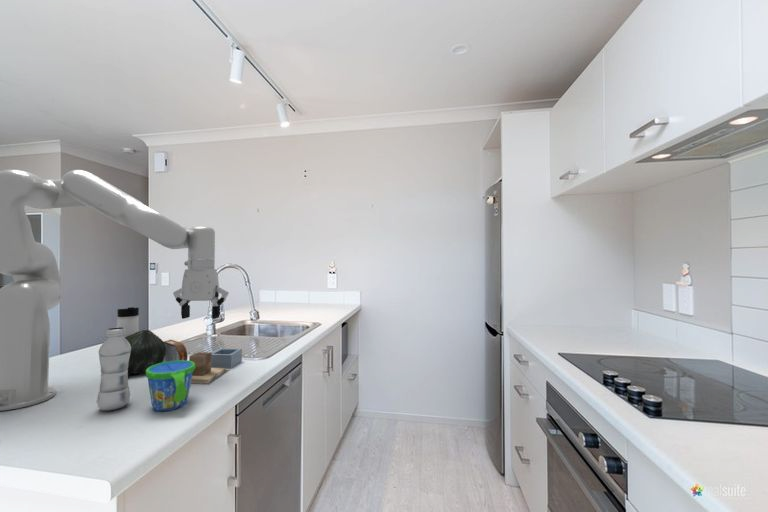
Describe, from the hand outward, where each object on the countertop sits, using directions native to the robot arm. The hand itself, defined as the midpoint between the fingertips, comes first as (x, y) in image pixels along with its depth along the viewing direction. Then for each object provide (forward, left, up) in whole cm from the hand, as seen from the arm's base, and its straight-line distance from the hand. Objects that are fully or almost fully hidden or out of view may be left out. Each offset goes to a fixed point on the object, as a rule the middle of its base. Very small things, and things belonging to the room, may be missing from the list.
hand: (200, 318), depth 104 cm
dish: (+11, -3, -19) cm, 22 cm away
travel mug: (+14, +35, -19) cm, 42 cm away
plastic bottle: (-23, +8, -19) cm, 31 cm away
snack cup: (-21, -5, -19) cm, 29 cm away
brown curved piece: (+11, +16, -19) cm, 27 cm away
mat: (-1, -1, -19) cm, 19 cm away
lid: (-1, -1, -18) cm, 18 cm away
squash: (+3, +22, -19) cm, 29 cm away
